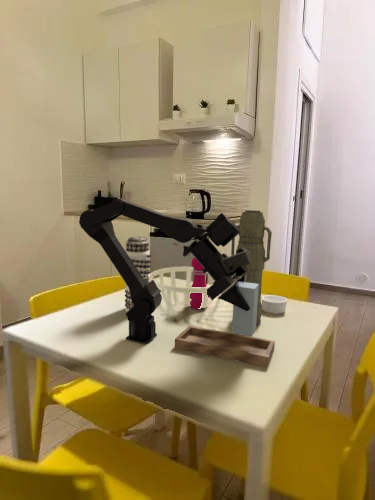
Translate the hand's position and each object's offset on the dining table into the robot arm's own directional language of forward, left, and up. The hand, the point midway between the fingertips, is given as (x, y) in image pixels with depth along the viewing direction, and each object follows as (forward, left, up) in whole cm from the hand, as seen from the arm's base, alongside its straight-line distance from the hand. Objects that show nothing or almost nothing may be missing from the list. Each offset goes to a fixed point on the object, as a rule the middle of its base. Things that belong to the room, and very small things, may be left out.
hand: (251, 306), depth 86 cm
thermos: (-5, +22, -13) cm, 26 cm away
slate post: (-1, 0, -7) cm, 7 cm away
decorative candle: (-42, +17, -13) cm, 47 cm away
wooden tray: (-6, 0, -12) cm, 14 cm away
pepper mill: (-24, +29, -13) cm, 40 cm away
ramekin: (+1, +37, -13) cm, 39 cm away
